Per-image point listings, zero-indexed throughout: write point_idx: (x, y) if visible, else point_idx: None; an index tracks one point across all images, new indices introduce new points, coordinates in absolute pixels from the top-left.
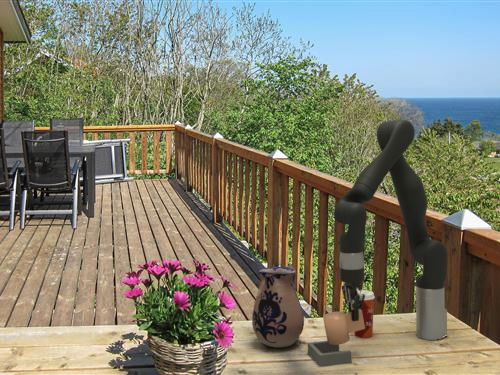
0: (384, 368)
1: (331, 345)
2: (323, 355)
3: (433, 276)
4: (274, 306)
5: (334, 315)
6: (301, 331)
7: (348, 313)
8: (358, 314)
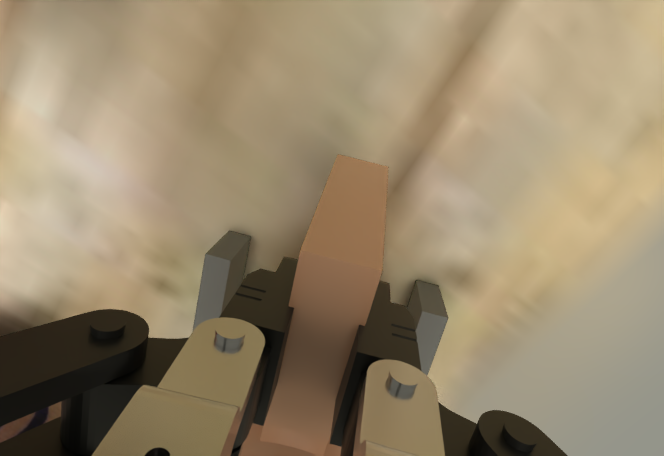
0: (629, 182)
1: (230, 297)
2: None
3: None
4: None
5: None
6: (39, 420)
7: (304, 413)
8: (390, 319)
